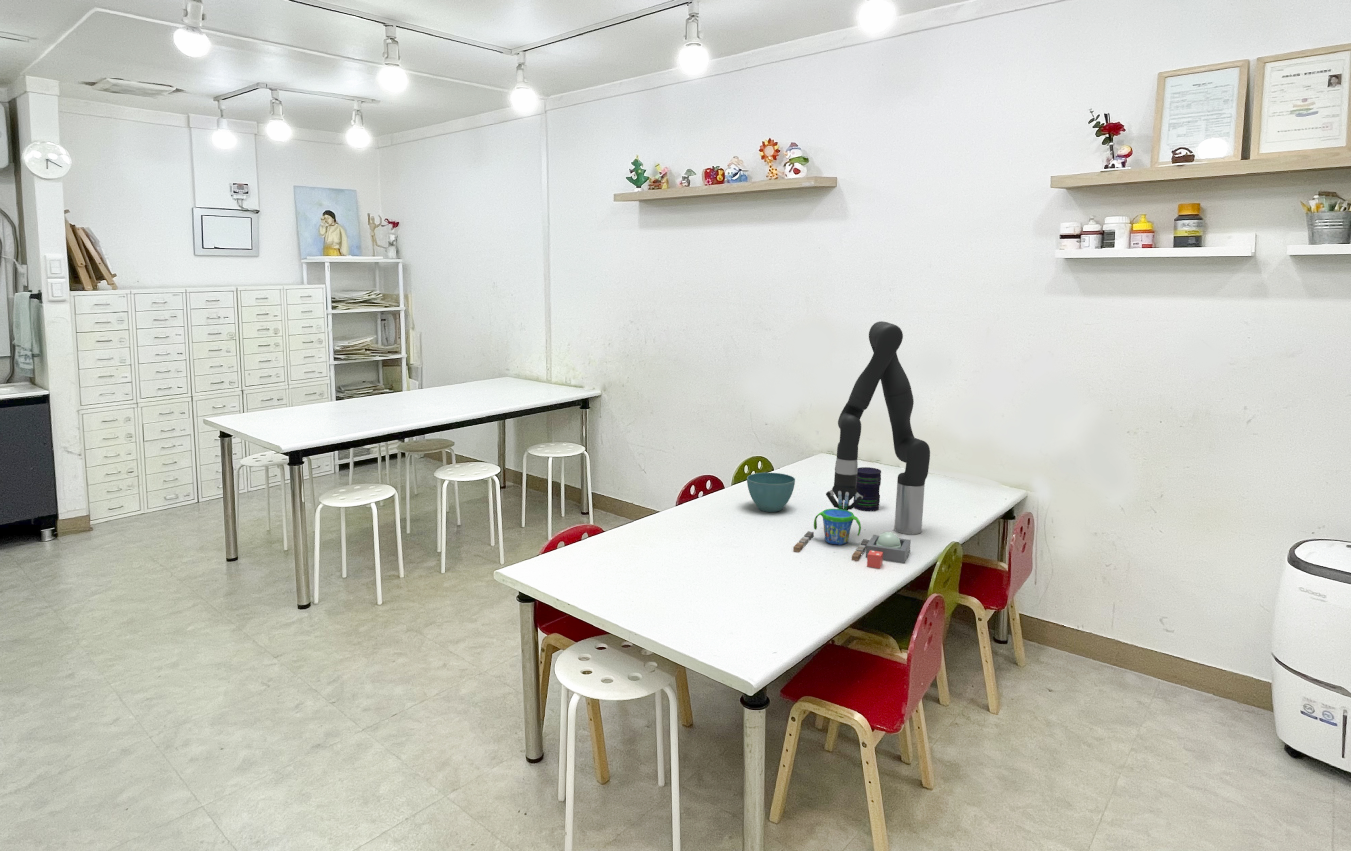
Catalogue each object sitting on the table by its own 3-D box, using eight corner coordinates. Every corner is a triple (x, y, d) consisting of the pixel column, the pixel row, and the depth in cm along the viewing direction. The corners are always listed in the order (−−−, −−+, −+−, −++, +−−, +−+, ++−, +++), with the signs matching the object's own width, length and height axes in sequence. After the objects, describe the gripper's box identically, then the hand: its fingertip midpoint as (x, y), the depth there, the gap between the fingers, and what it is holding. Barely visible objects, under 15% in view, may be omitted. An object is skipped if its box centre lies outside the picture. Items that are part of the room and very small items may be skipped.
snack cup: (863, 541, 275) (865, 512, 273) (854, 550, 266) (855, 520, 264) (819, 533, 282) (820, 505, 280) (808, 542, 273) (810, 513, 271)
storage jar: (851, 510, 311) (853, 472, 308) (854, 503, 320) (856, 466, 317) (878, 512, 308) (880, 474, 305) (880, 505, 317) (882, 468, 314)
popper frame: (872, 546, 270) (873, 534, 269) (909, 551, 265) (910, 539, 264) (865, 557, 259) (866, 545, 259) (904, 563, 254) (904, 551, 254)
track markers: (807, 535, 280) (808, 531, 280) (869, 544, 272) (869, 539, 272) (793, 551, 264) (793, 546, 264) (857, 561, 256) (858, 556, 256)
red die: (869, 562, 255) (870, 549, 254) (882, 564, 253) (883, 551, 253) (866, 566, 251) (867, 553, 251) (880, 568, 250) (880, 555, 249)
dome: (878, 548, 267) (879, 527, 266) (902, 552, 264) (903, 530, 263) (873, 555, 260) (875, 534, 259) (898, 559, 257) (899, 537, 256)
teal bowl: (737, 505, 315) (738, 474, 313) (777, 500, 323) (778, 470, 321) (761, 518, 299) (762, 486, 297) (803, 512, 307) (804, 481, 304)
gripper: (867, 471, 279) (863, 520, 282) (829, 466, 284) (826, 514, 287) (863, 476, 272) (859, 525, 275) (824, 471, 277) (821, 520, 280)
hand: (842, 520), depth 281 cm, fingers closed
